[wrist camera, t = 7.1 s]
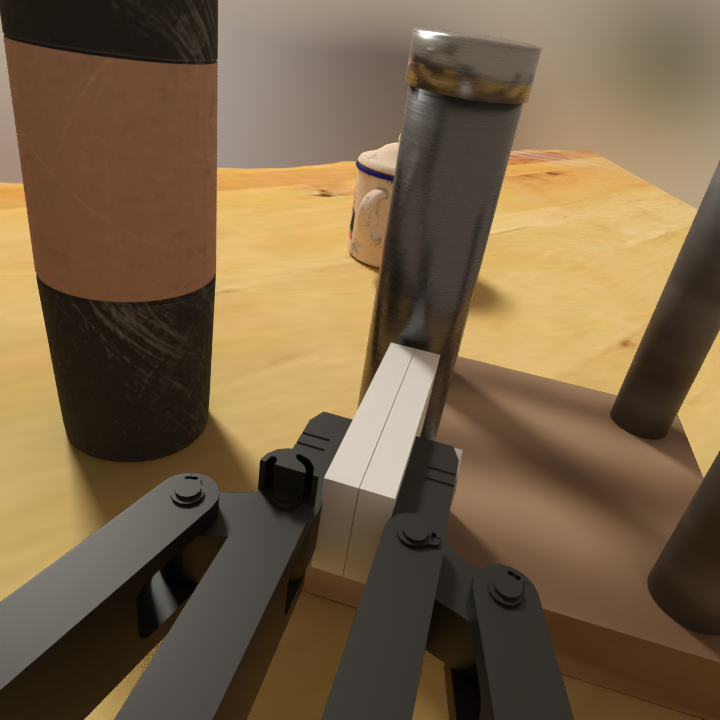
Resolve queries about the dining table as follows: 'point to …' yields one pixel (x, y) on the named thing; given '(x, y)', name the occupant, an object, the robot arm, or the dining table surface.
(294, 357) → the dining table surface
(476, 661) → the robot arm
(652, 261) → the dining table surface
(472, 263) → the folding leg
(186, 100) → the travel mug
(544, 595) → the stool
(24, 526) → the dining table surface
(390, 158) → the teacup with lid
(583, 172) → the dining table surface
